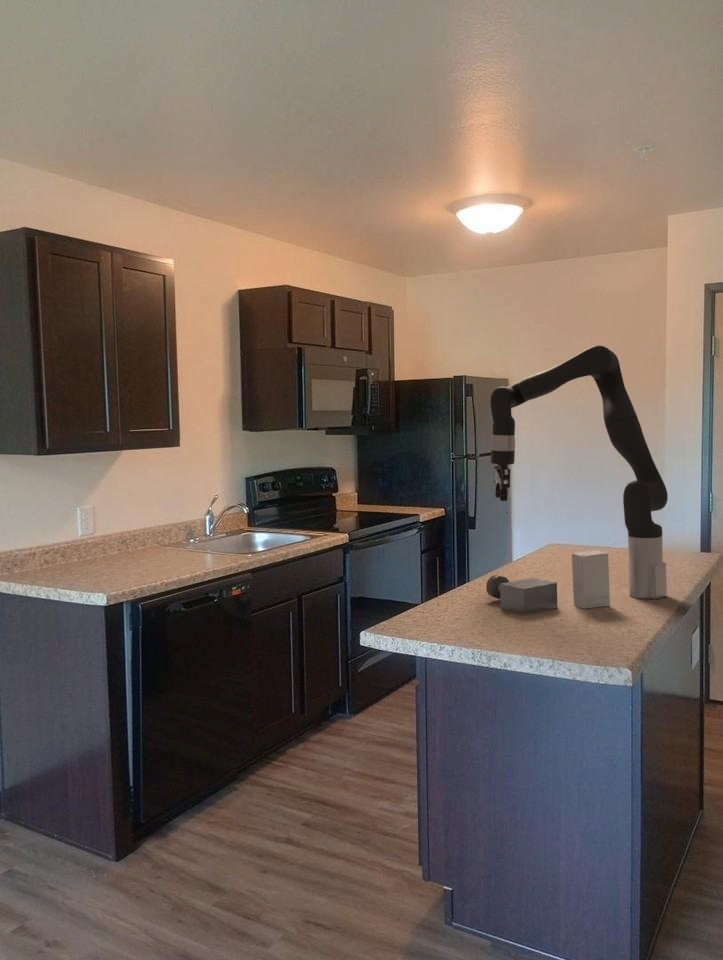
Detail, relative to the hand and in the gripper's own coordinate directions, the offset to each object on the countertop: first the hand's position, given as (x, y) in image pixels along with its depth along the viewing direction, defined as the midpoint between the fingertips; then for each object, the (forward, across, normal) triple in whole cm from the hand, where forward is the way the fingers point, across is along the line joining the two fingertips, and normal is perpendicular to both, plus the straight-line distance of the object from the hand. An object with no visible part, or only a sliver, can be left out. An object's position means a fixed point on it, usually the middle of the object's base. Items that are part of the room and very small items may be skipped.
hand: (501, 499), depth 253 cm
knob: (+25, -33, +3) cm, 42 cm away
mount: (+25, -41, -1) cm, 48 cm away
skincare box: (+24, -41, -18) cm, 51 cm away
